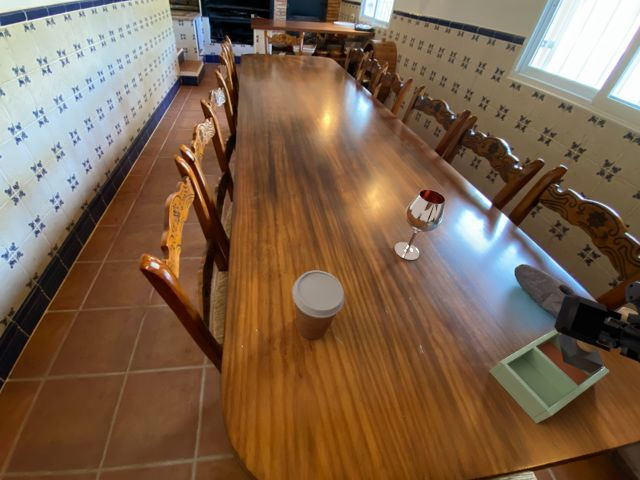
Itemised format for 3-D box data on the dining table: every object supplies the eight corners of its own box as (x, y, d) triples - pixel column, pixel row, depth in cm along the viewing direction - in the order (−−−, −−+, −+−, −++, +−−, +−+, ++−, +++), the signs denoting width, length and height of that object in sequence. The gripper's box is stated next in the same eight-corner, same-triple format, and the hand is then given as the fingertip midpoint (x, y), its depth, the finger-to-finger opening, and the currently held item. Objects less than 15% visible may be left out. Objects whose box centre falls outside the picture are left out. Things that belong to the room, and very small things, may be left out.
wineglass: (428, 260, 76) (459, 205, 65) (401, 265, 74) (427, 209, 63) (411, 238, 82) (436, 184, 71) (385, 242, 80) (406, 188, 69)
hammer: (590, 373, 51) (655, 335, 42) (563, 362, 52) (621, 322, 44) (583, 346, 55) (641, 306, 46) (557, 336, 56) (610, 295, 48)
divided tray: (593, 380, 55) (610, 371, 53) (536, 423, 49) (552, 415, 47) (544, 337, 62) (557, 327, 59) (488, 371, 55) (500, 361, 53)
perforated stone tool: (502, 276, 74) (518, 257, 69) (518, 272, 75) (534, 253, 71) (560, 330, 63) (583, 312, 58) (577, 324, 64) (601, 306, 60)
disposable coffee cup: (286, 305, 63) (290, 269, 56) (329, 303, 64) (339, 267, 57) (290, 349, 56) (295, 314, 48) (339, 346, 57) (352, 311, 50)
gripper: (825, 328, 33) (685, 308, 48) (617, 262, 39) (549, 263, 53) (796, 425, 32) (663, 374, 47) (589, 343, 38) (529, 321, 53)
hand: (598, 329), depth 50 cm, fingers closed on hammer, 2 cm apart
